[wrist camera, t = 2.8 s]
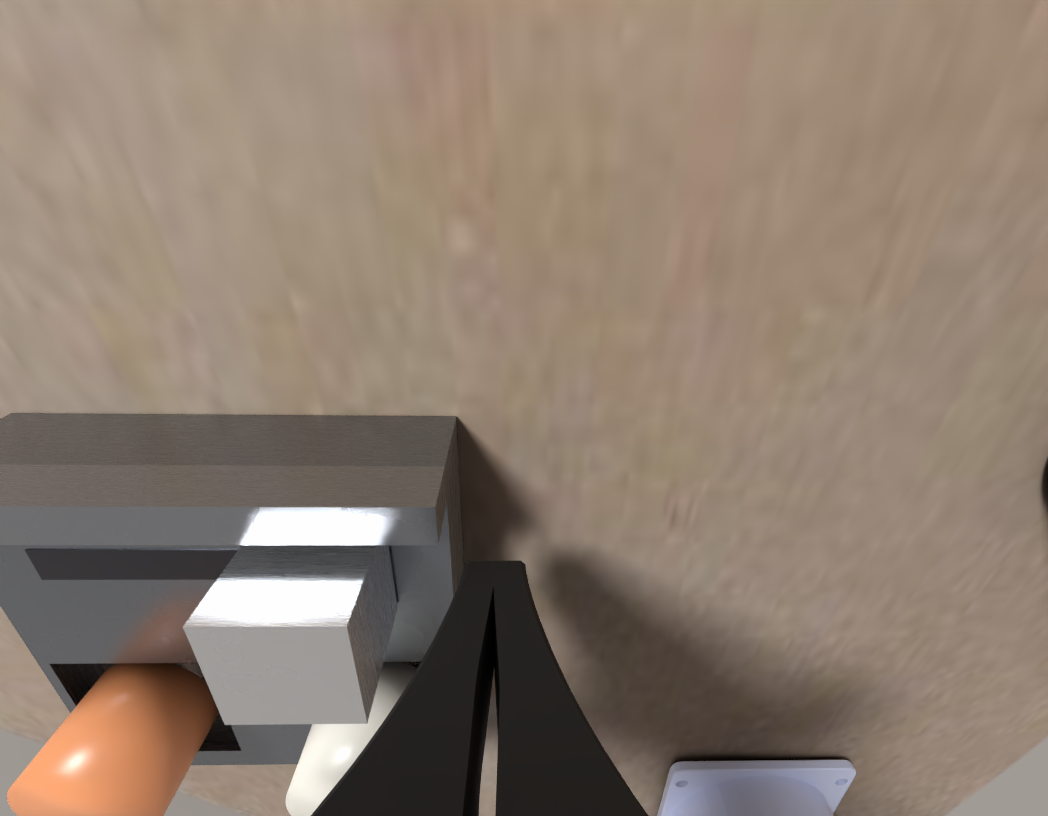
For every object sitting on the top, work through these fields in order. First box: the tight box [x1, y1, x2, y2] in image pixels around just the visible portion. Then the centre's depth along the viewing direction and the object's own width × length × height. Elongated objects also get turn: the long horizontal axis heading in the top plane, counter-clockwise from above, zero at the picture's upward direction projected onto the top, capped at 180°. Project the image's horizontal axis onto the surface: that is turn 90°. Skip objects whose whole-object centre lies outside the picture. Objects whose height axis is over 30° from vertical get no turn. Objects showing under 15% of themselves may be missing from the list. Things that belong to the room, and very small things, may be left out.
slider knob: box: [183, 545, 398, 725], centre depth 11 cm, size 3×3×3 cm
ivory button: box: [286, 662, 417, 816], centre depth 14 cm, size 4×4×3 cm
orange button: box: [7, 663, 219, 816], centre depth 14 cm, size 4×4×3 cm
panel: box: [0, 413, 464, 765], centre depth 14 cm, size 12×12×4 cm
